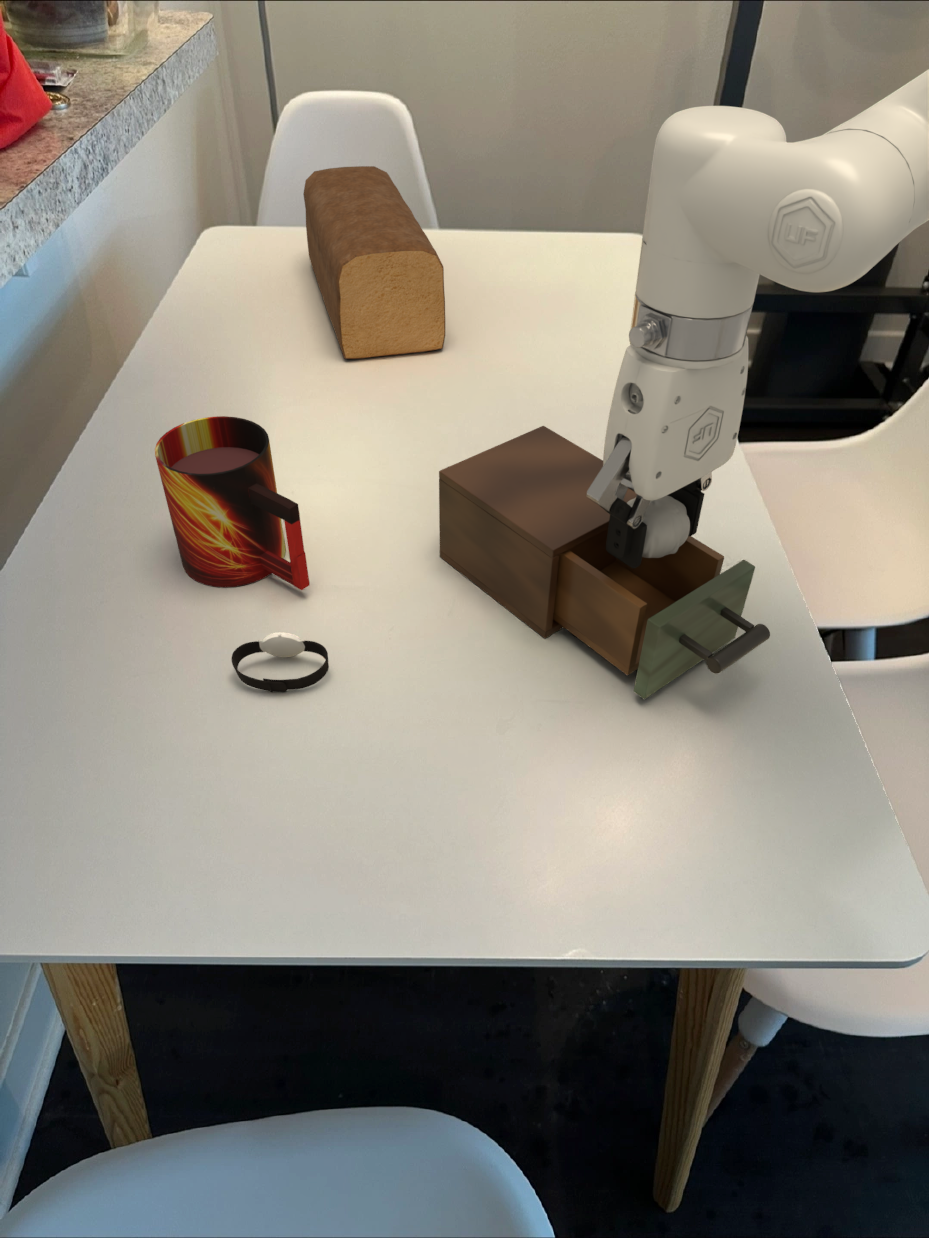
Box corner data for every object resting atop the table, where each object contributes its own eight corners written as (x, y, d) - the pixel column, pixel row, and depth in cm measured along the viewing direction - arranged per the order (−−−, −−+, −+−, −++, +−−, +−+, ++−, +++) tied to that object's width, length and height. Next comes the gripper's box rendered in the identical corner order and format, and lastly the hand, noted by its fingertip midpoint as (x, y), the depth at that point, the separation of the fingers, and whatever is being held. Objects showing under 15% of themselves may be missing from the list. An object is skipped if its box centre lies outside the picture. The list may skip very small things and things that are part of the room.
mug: (307, 601, 82) (292, 489, 74) (164, 579, 84) (134, 467, 76) (341, 537, 89) (330, 428, 81) (207, 518, 91) (184, 410, 83)
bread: (341, 364, 116) (331, 250, 106) (307, 264, 140) (297, 164, 130) (448, 352, 118) (448, 240, 109) (397, 256, 143) (393, 158, 133)
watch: (332, 654, 77) (328, 622, 74) (328, 695, 73) (323, 663, 71) (239, 655, 76) (233, 623, 74) (231, 697, 73) (223, 664, 70)
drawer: (776, 665, 75) (801, 593, 70) (685, 731, 70) (704, 658, 64) (619, 560, 85) (630, 490, 80) (528, 611, 80) (534, 540, 74)
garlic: (626, 576, 70) (635, 520, 66) (600, 535, 74) (607, 480, 70) (698, 563, 71) (710, 508, 68) (668, 523, 75) (678, 469, 72)
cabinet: (644, 580, 84) (660, 493, 78) (544, 639, 78) (553, 550, 72) (536, 508, 93) (543, 425, 86) (439, 556, 87) (438, 470, 80)
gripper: (642, 383, 54) (609, 612, 66) (815, 307, 62) (757, 524, 74) (554, 339, 58) (538, 562, 70) (726, 274, 66) (685, 484, 78)
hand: (651, 541), depth 72 cm, fingers closed on garlic, 5 cm apart
